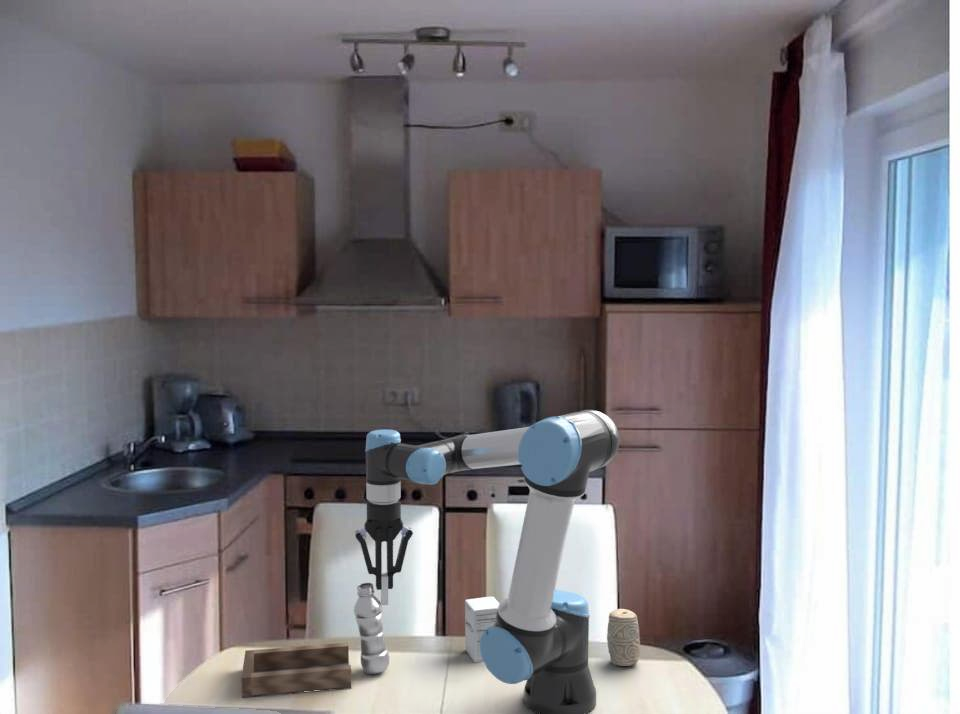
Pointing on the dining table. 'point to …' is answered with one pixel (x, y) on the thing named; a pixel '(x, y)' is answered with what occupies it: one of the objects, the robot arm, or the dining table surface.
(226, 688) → the dining table surface
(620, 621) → the carving
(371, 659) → the plastic bottle
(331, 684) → the wooden tray
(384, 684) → the dining table surface
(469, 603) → the supplement box
